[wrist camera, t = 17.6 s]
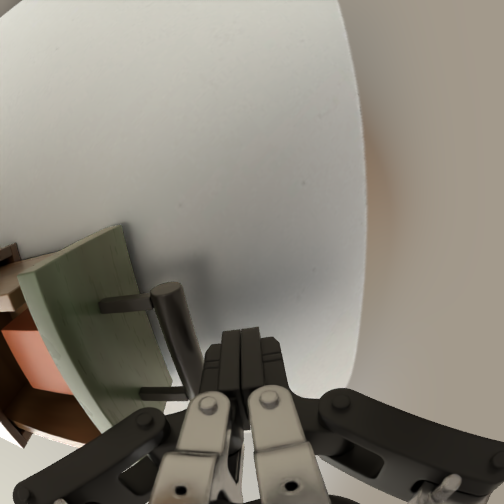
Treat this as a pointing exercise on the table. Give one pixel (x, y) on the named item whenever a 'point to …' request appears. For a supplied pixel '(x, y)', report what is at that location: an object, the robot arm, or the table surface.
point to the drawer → (94, 340)
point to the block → (33, 354)
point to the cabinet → (3, 426)
